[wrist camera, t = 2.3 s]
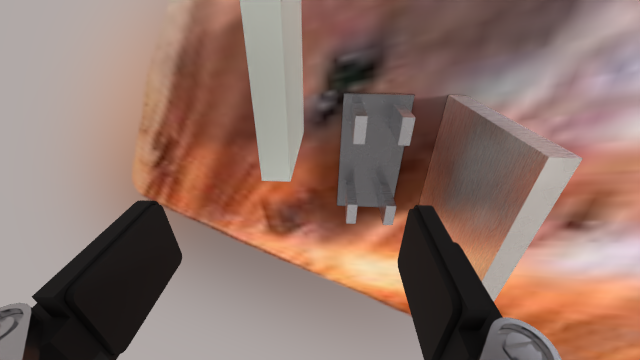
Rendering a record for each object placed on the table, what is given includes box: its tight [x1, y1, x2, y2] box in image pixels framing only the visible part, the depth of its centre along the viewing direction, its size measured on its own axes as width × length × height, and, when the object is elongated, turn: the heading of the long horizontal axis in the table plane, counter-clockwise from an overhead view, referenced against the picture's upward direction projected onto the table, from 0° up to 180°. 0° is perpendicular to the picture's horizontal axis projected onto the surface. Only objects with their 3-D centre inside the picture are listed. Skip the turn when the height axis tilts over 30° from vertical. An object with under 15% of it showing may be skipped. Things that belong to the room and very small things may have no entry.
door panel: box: [240, 0, 304, 182], centre depth 24 cm, size 14×2×12 cm, turn 179°
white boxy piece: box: [337, 92, 583, 302], centre depth 27 cm, size 16×14×16 cm
